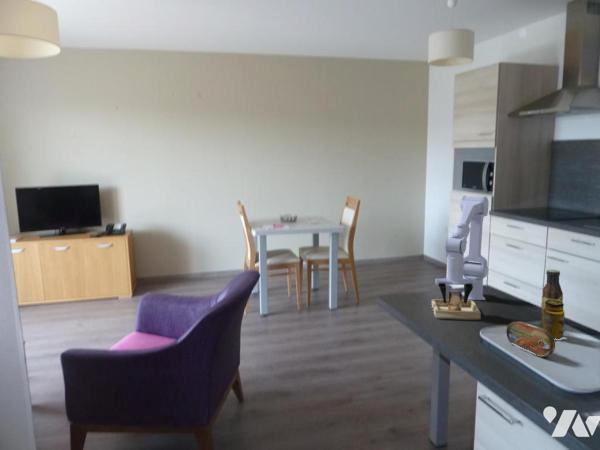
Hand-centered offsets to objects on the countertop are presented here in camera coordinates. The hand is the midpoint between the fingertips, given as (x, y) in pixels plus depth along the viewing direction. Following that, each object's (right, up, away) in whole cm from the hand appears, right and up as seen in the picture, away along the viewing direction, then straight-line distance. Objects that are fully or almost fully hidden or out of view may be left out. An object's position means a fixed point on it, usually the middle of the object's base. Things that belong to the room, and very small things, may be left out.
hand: (454, 302), depth 165 cm
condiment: (+23, -7, -24) cm, 34 cm away
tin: (+11, -9, -34) cm, 37 cm away
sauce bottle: (+29, -6, -15) cm, 33 cm away
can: (0, -4, +1) cm, 4 cm away
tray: (0, -4, +1) cm, 4 cm away
